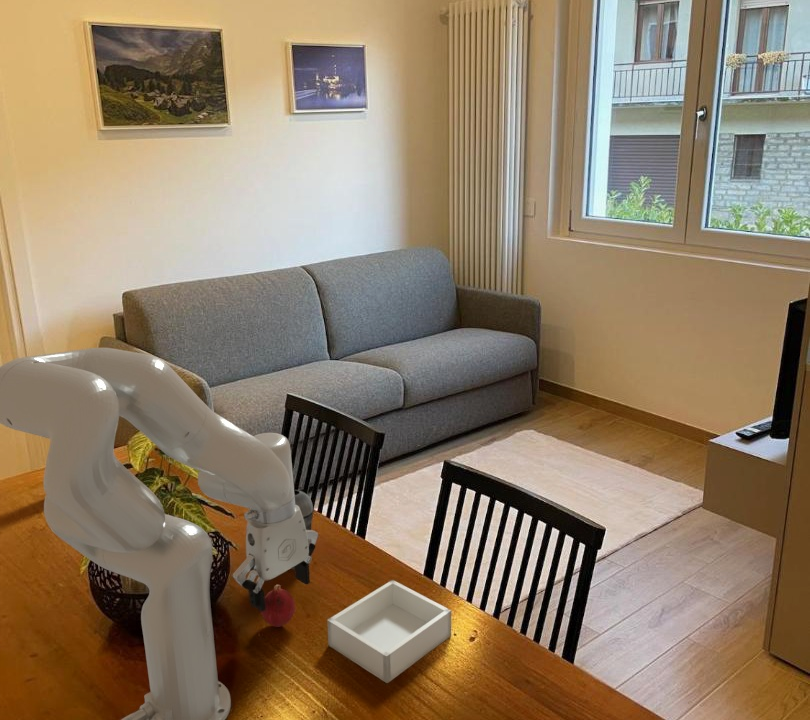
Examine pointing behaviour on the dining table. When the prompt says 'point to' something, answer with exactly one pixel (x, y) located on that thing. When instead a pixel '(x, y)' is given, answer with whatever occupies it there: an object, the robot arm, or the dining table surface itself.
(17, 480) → the dining table surface
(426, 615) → the bin
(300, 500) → the beverage cup
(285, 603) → the onion
